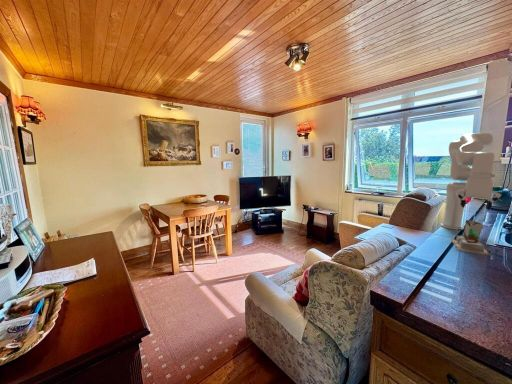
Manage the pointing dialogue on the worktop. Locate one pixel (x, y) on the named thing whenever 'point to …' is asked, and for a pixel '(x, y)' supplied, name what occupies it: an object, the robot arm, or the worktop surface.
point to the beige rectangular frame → (469, 246)
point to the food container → (472, 231)
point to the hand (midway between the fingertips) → (475, 208)
